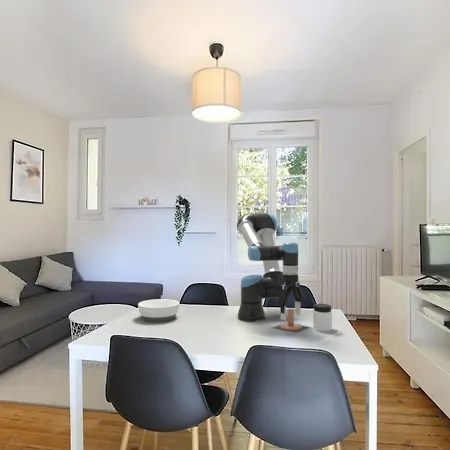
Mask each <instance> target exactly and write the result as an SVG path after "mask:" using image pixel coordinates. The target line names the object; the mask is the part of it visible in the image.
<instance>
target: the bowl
mask: <svg viewBox="0 0 450 450" xmlns="http://www.w3.org/2000/svg"><path fill="white" fill-rule="evenodd" d="M137 307H138V308H137V309H138V311H139V315H140V316H141V317H142V320H143V321H145V322H150V323H162V322H169V321H172V320H174V319H175V317H176V315H177V314H178V312H179V308H180V302H179V301H178V300H176V299H170V298H169V299H167V298H158V299H148V300H142V301H140V302H138V304H137Z"/></svg>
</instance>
